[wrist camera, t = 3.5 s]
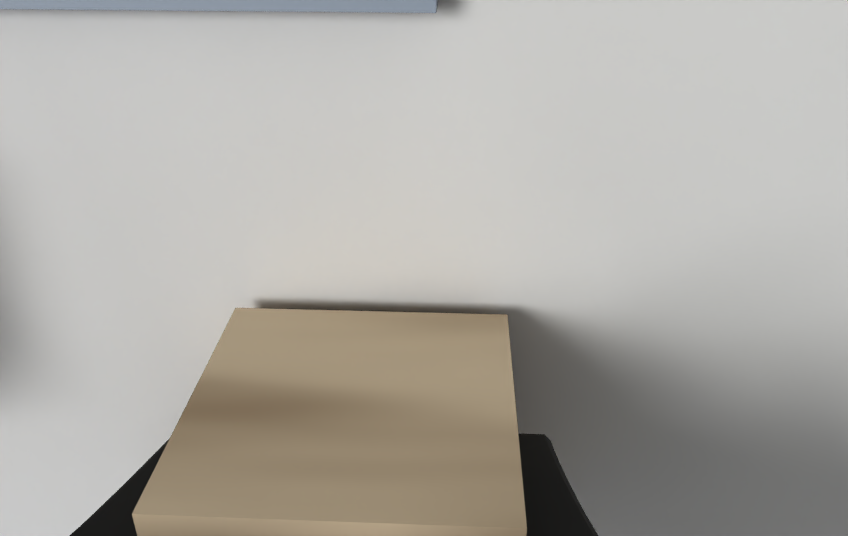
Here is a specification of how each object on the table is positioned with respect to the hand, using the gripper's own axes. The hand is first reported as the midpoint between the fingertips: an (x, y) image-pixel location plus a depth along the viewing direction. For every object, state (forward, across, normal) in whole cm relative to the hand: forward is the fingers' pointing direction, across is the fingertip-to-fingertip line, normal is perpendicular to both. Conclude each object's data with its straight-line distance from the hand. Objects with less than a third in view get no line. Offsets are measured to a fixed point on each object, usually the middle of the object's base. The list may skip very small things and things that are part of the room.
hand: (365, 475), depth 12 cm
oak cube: (+1, 0, 0) cm, 1 cm away
